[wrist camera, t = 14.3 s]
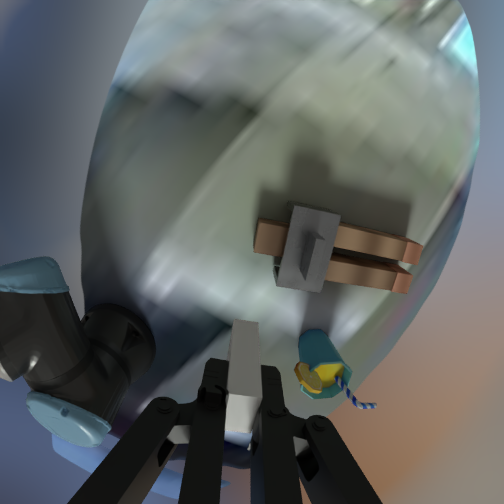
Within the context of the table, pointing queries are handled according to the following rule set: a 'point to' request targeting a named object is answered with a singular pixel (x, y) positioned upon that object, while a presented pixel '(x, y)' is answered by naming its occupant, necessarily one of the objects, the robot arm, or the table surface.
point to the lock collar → (307, 247)
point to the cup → (323, 369)
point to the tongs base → (336, 261)
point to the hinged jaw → (377, 243)
